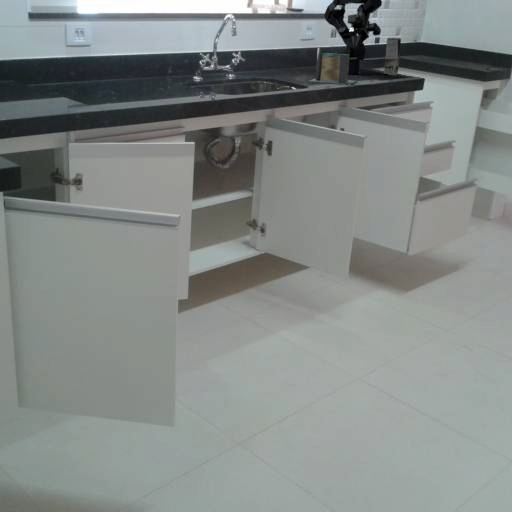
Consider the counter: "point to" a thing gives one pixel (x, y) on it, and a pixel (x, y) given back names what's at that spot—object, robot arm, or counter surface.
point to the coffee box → (392, 56)
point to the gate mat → (332, 81)
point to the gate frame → (342, 70)
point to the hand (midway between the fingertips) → (355, 48)
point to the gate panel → (331, 66)
